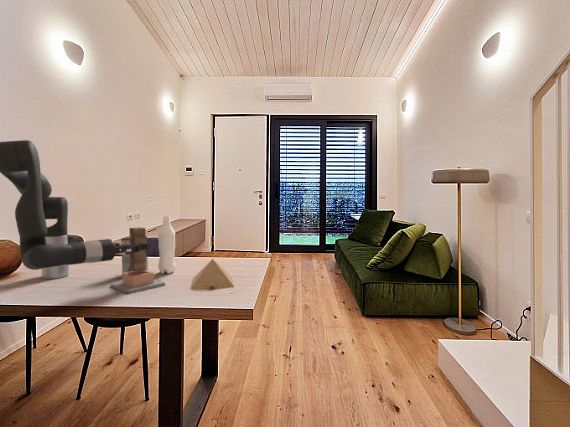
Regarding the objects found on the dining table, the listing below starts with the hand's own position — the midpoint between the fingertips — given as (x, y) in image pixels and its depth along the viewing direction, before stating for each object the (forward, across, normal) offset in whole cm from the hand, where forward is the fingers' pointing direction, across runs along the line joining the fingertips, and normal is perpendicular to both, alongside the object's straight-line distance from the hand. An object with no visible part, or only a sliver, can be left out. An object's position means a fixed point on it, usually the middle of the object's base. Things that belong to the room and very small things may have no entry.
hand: (144, 245), depth 126 cm
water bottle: (+16, +11, +15) cm, 25 cm away
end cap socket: (-3, 0, +15) cm, 15 cm away
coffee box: (+6, +20, +15) cm, 26 cm away
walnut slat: (-3, 0, +9) cm, 9 cm away
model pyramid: (+18, -18, +16) cm, 30 cm away
